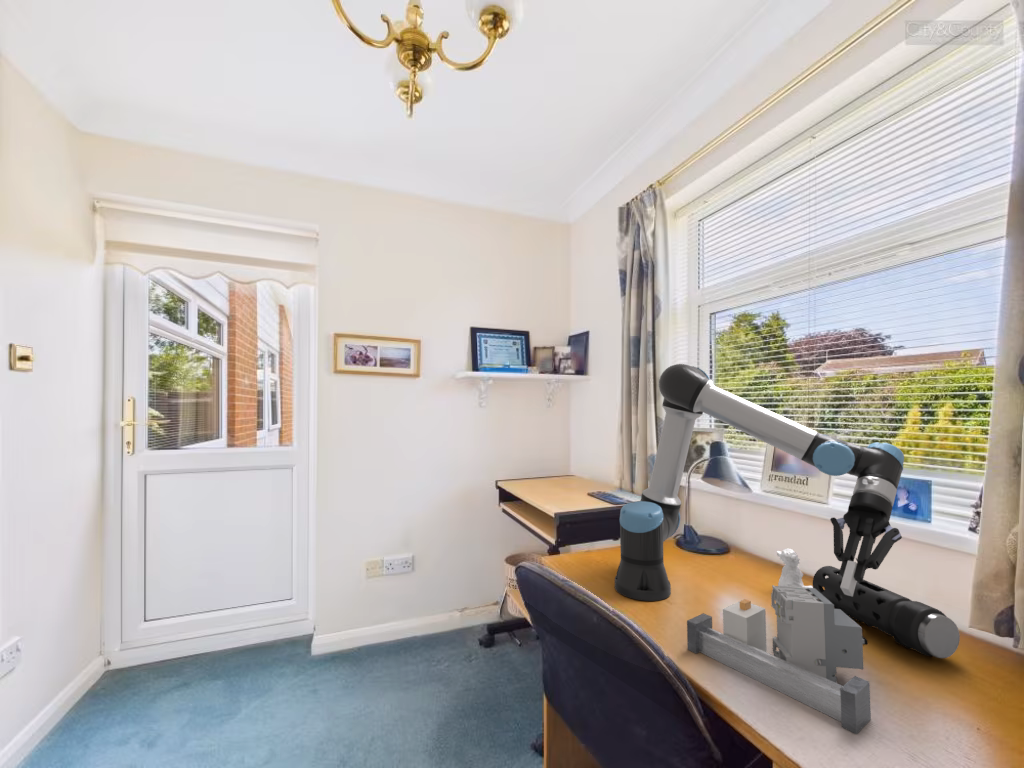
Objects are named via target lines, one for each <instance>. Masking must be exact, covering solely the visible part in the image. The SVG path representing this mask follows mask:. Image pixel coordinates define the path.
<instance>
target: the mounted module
mask: <svg viewBox="0 0 1024 768" xmlns="http://www.w3.org/2000/svg"><path fill="white" fill-rule="evenodd" d="M766 620H767V619H766V608H765V607H763V606H760V605H757V604H754V603H752V602H751V600H749V599H745V598H744V599H743V600H739V601H737V602H735V603H732V604H730V605H727V606H726V607H724V608H722V623H723V624H722V630H723V631H722V633H723V634H725V635H728V636H730V637H732V638H734V639H737V640H739V641H741V642H744V643H746V644H748V645H750V646H753V647H755V648H757V649H760V650H762V651H764V652H766V653H768V651H767V649H768V648H767V647H768V646H767V626H766V625H767V622H766Z"/></svg>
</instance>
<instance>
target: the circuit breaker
mask: <svg viewBox="0 0 1024 768" xmlns="http://www.w3.org/2000/svg"><path fill="white" fill-rule="evenodd" d="M771 587H772V591H771V593H770V599H771V600H770V601H771V607H772V609H774V612H775V613H774V615H775V616H776V630H777V631H776V636H772V638H771V639H772V653H773V656H776V657H778V658H780V659H783V660H785V661H787V662H789V663H792V664H794V665H796V666H799V667H801V668H803V669H805V670H808V671H810V672H812V673H815V674H817V675H819V676H821V677H824V678H826V679H828V680H831V681H833V682H835V683H838V679H837V678H838V677H837V676H836V674H837V668H840V669H841V668H842V669H854V670H864V649H863V648H864V646H868V644H869V642H868V638H866V637H865V636H864V635H863V628H862V626H860V624H859V623H857V622H856V621H855V620H854V619H853V618H852V617H850V616H848V615H846V614H845V613H844V612H843V611H842V610H841V609H835V608H834V604H832V603H831V602H830V601H829V600H828V599H827V598H826V597H824V596H823V595H822V594H821V593H820V592H819V591H817V590H816V589H815V588H806V587H792V586H779V585H773V584H772V585H771ZM777 649H778V650H777Z"/></svg>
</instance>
